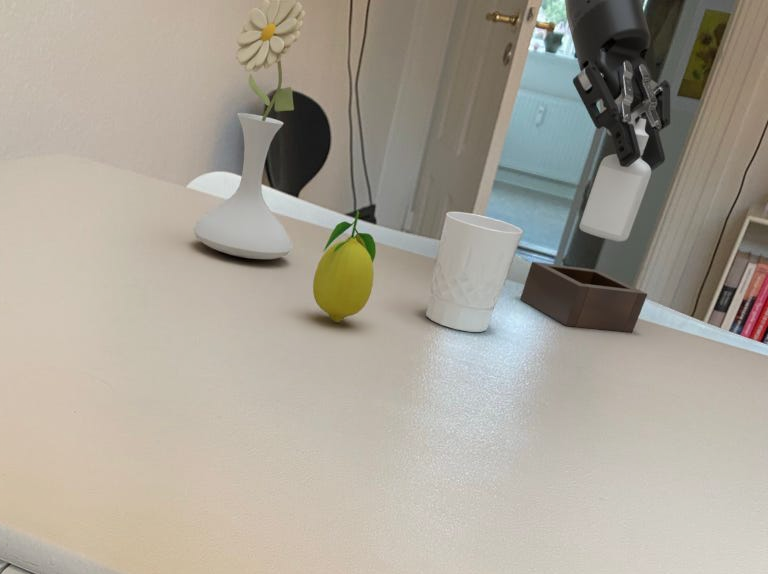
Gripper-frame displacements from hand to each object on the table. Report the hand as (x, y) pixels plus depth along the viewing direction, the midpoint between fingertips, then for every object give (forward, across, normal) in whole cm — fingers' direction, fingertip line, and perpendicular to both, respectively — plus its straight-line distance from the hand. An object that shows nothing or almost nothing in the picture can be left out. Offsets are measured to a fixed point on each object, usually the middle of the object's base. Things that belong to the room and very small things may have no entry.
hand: (643, 163), depth 99 cm
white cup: (+14, -22, +11) cm, 28 cm away
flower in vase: (-2, -37, +26) cm, 45 cm away
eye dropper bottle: (+4, 0, +7) cm, 8 cm away
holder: (+11, 0, +13) cm, 17 cm away
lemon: (+14, -39, +10) cm, 43 cm away
